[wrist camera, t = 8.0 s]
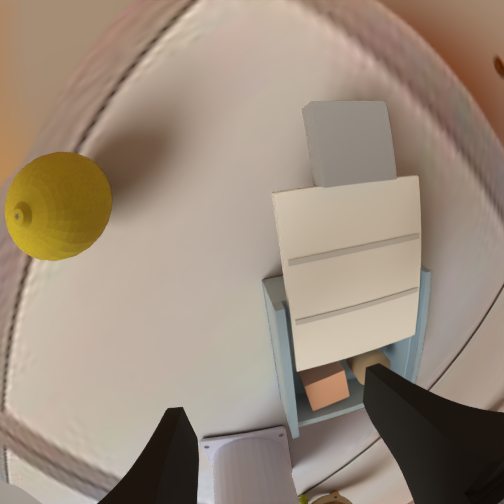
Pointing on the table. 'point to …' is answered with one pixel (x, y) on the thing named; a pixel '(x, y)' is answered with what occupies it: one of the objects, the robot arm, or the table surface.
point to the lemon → (58, 206)
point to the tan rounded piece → (366, 362)
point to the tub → (290, 386)
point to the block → (324, 384)
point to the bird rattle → (326, 499)
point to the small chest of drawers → (349, 238)
